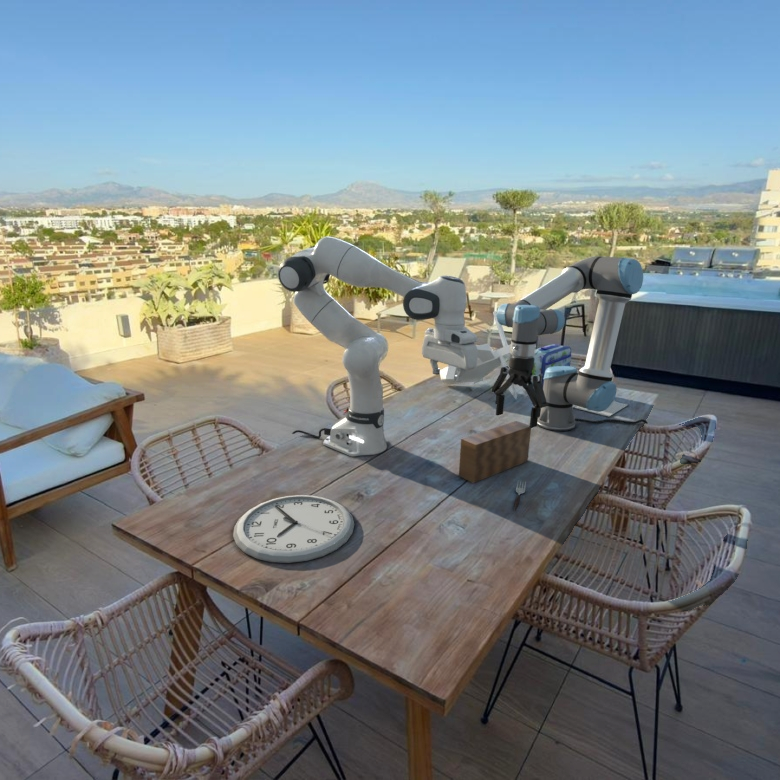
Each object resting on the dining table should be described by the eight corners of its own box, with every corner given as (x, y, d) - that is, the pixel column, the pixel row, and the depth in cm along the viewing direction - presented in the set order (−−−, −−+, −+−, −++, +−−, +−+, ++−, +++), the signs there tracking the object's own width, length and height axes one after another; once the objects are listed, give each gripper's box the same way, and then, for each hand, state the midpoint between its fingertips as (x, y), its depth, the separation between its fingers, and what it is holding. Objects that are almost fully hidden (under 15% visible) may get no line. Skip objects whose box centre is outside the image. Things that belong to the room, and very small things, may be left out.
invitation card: (608, 416, 214) (573, 407, 224) (608, 416, 214) (573, 408, 224) (628, 404, 229) (594, 396, 238) (628, 405, 229) (594, 397, 238)
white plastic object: (461, 429, 252) (437, 405, 227) (444, 352, 274) (420, 323, 250) (535, 404, 240) (518, 377, 215) (510, 326, 262) (492, 293, 237)
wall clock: (355, 554, 119) (220, 559, 116) (355, 560, 119) (221, 565, 117) (353, 490, 147) (244, 493, 145) (353, 495, 148) (245, 498, 145)
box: (513, 455, 177) (516, 420, 173) (527, 461, 172) (531, 426, 168) (458, 475, 161) (461, 438, 157) (473, 483, 157) (475, 445, 153)
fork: (509, 511, 141) (510, 504, 140) (517, 485, 155) (517, 479, 155) (519, 513, 140) (520, 506, 139) (526, 487, 154) (526, 481, 154)
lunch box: (543, 396, 238) (548, 352, 231) (522, 391, 245) (526, 347, 239) (570, 385, 255) (575, 343, 249) (550, 381, 262) (555, 340, 256)
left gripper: (417, 328, 160) (416, 371, 164) (466, 339, 144) (463, 387, 149) (433, 326, 163) (431, 368, 168) (482, 337, 148) (478, 383, 152)
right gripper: (483, 349, 168) (478, 411, 175) (549, 366, 150) (540, 435, 156) (499, 347, 173) (493, 407, 179) (564, 362, 154) (555, 429, 160)
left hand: (446, 377), depth 158 cm, fingers open, 8 cm apart
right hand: (515, 420), depth 167 cm, fingers open, 13 cm apart
